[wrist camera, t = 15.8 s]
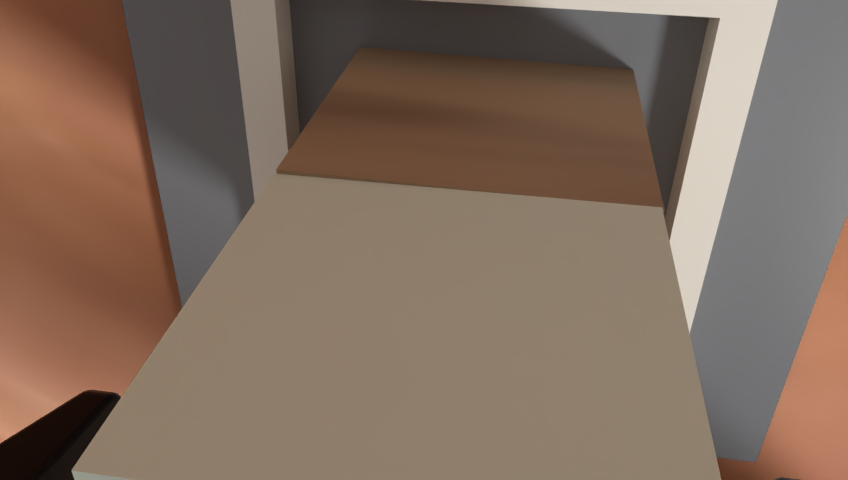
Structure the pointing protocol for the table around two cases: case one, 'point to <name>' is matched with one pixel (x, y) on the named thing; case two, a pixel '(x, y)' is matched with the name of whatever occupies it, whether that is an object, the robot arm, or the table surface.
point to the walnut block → (482, 128)
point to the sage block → (421, 346)
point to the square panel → (564, 44)
